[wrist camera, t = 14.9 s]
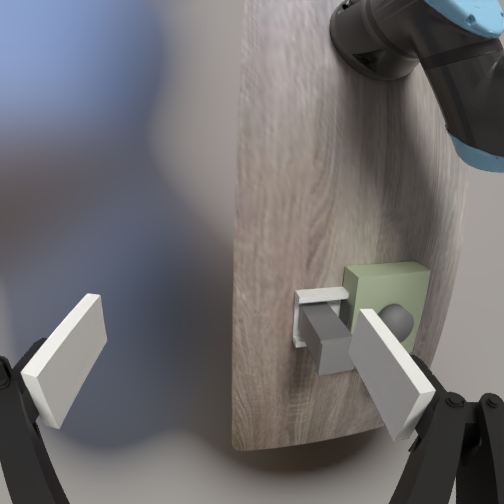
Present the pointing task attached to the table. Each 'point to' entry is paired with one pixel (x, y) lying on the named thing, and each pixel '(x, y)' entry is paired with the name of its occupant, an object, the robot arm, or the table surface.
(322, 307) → the gray capped pillar
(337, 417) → the table surface
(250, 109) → the table surface
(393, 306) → the green block with knob
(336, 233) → the table surface
